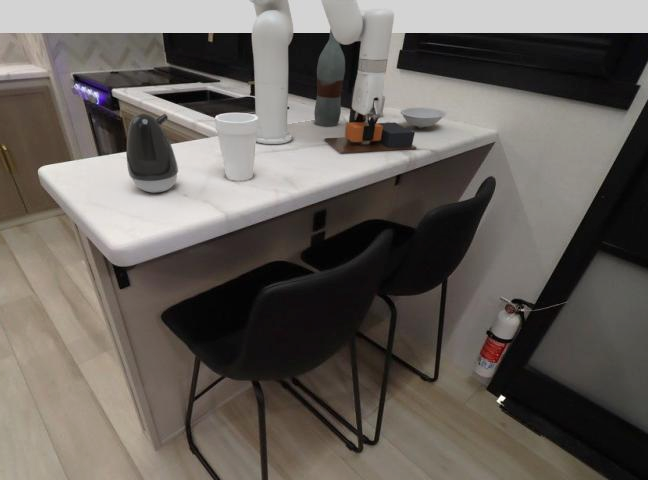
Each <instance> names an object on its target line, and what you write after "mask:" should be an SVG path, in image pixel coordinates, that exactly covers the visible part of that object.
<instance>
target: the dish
mask: <svg viewBox="0 0 648 480" xmlns="http://www.w3.org/2000/svg"><path fill="white" fill-rule="evenodd" d="M400 114H401V115H402V117H403V118H404V121H406V122H407V123H408V124H409V125H411V126H414V127H417V129H423V128H425V127H431V126H434V125H435V124H437V123H439V121H440V120H442V118H444V117H446V116H447V112H446V111H444V110H441V109H438V108H437V109H436V108H432V107H407V108H404V109H401V110H400Z"/></svg>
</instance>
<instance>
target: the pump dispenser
mask: <svg viewBox="0 0 648 480" xmlns="http://www.w3.org/2000/svg"><path fill="white" fill-rule="evenodd" d="M168 118H169V117H168V115H167V114H166V113H164V114H162V115H160V116H158V117H157V118H155V117H154V116H153V115H152V114H149V113H146V112H140V113H138V114H135V115H134V116H133V118H132V119H131V121H130V123H129V126H128V130H127V136H126V150H125V151H126V154H125V155H126V167H127V173H128V176H129V177H130V178H131V179H132V181H133V183H134V185H135V186H137V187H138V188H139V189H140V190H142V191H144V192H146V193H152V194H157V193H158V194H159V193H163V192H166V191H168V190H170V189H172V187H174V185H175V183H176V181H177V177H178V173H179V166H178V162H177V159H176V155H175V151H174V148H173V147H172V144H171V142H170V140H169V138H168V136H167V133H166V132H165V129H163V126H162V125H163V124H164V123H165V122H166V121H167V120H168Z"/></svg>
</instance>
